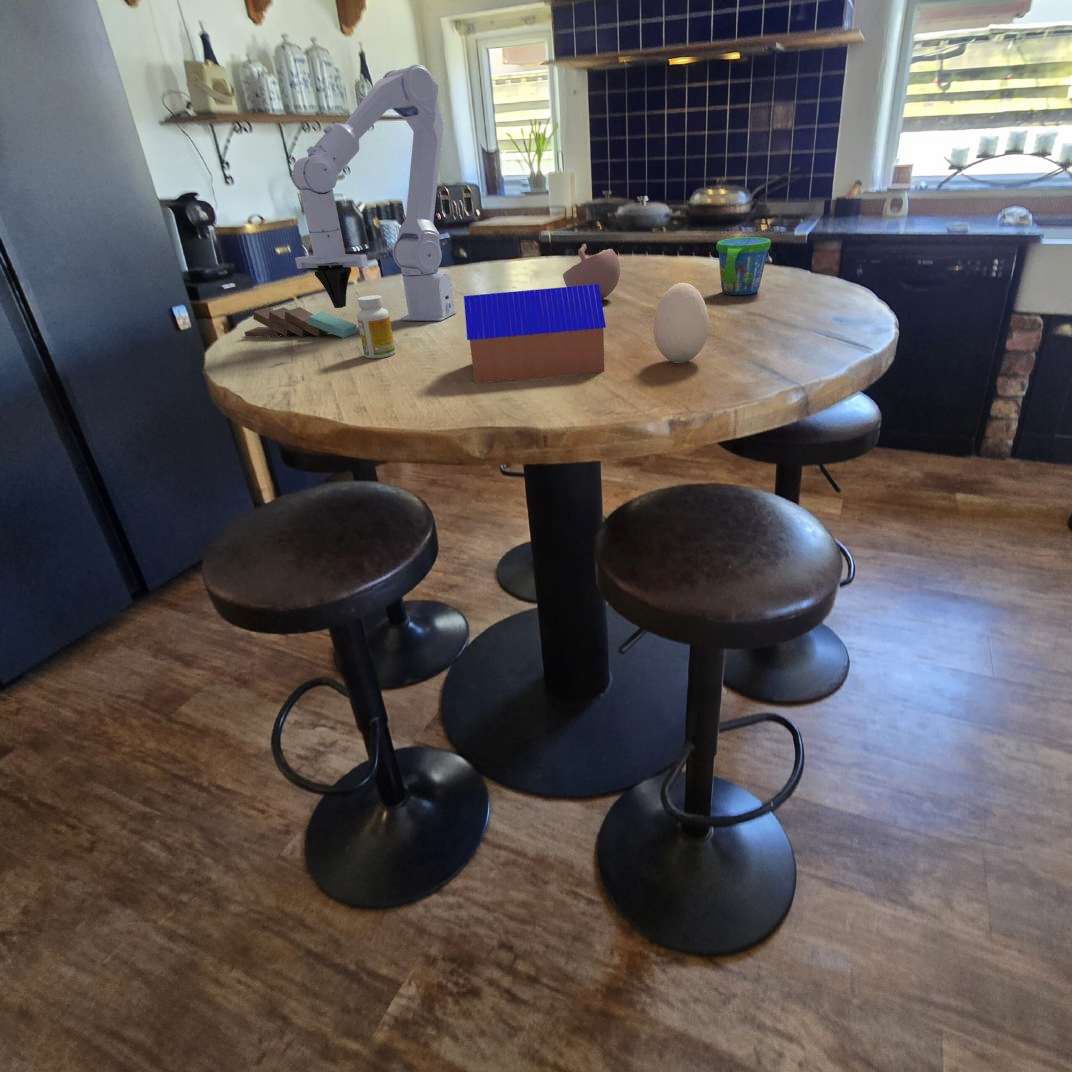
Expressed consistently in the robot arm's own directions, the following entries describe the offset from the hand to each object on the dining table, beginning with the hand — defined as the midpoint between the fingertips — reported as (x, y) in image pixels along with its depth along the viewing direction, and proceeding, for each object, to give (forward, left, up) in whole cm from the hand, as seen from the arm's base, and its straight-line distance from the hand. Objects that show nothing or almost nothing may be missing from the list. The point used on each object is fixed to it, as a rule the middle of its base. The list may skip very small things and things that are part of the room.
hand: (340, 307), depth 133 cm
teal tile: (-1, 0, -5) cm, 5 cm away
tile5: (+15, 0, -5) cm, 16 cm away
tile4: (+12, 0, -5) cm, 13 cm away
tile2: (+5, 0, -5) cm, 7 cm away
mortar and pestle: (-42, -32, -6) cm, 53 cm away
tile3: (+9, 0, -5) cm, 10 cm away
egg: (-68, +13, -6) cm, 69 cm away
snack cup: (-72, -40, -6) cm, 82 cm away
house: (-46, +17, -6) cm, 50 cm away
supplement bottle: (-16, +13, -6) cm, 21 cm away
